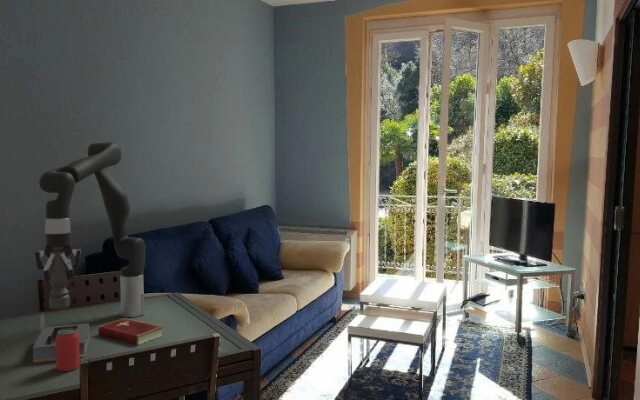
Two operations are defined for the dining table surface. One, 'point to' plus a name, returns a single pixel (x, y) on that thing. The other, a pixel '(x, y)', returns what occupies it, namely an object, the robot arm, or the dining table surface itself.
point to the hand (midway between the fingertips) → (58, 280)
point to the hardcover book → (130, 331)
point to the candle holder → (58, 281)
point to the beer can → (67, 350)
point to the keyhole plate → (47, 342)
